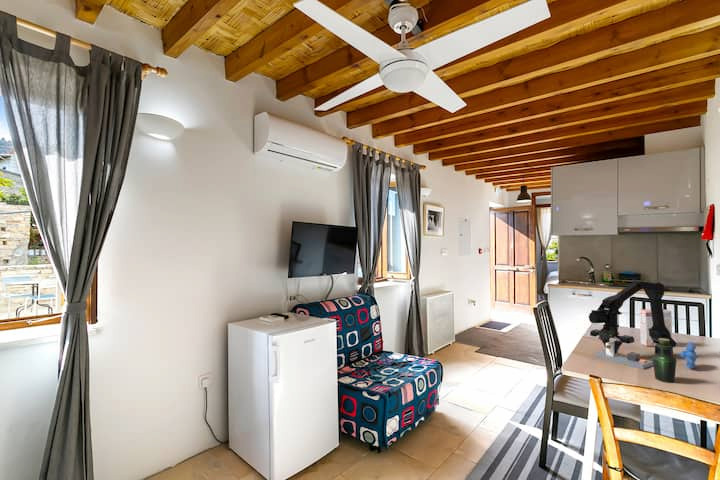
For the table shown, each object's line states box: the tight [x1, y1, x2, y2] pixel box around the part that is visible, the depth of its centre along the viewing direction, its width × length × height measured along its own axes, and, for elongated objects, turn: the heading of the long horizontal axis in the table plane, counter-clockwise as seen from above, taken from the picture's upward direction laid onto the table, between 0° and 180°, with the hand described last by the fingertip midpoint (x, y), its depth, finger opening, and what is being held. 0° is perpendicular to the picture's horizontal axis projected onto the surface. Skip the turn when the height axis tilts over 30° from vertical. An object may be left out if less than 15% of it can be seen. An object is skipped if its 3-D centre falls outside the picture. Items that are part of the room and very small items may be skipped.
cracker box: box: [639, 308, 673, 348], centre depth 209 cm, size 14×6×21 cm, turn 84°
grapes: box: [678, 342, 699, 370], centre depth 174 cm, size 12×7×12 cm, turn 135°
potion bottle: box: [652, 338, 678, 383], centre depth 159 cm, size 8×8×18 cm
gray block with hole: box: [593, 349, 654, 370], centre depth 184 cm, size 22×10×5 cm, turn 29°
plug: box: [605, 341, 619, 357], centre depth 188 cm, size 4×6×7 cm, turn 120°
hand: (611, 352), depth 188 cm, fingers closed on plug, 3 cm apart
